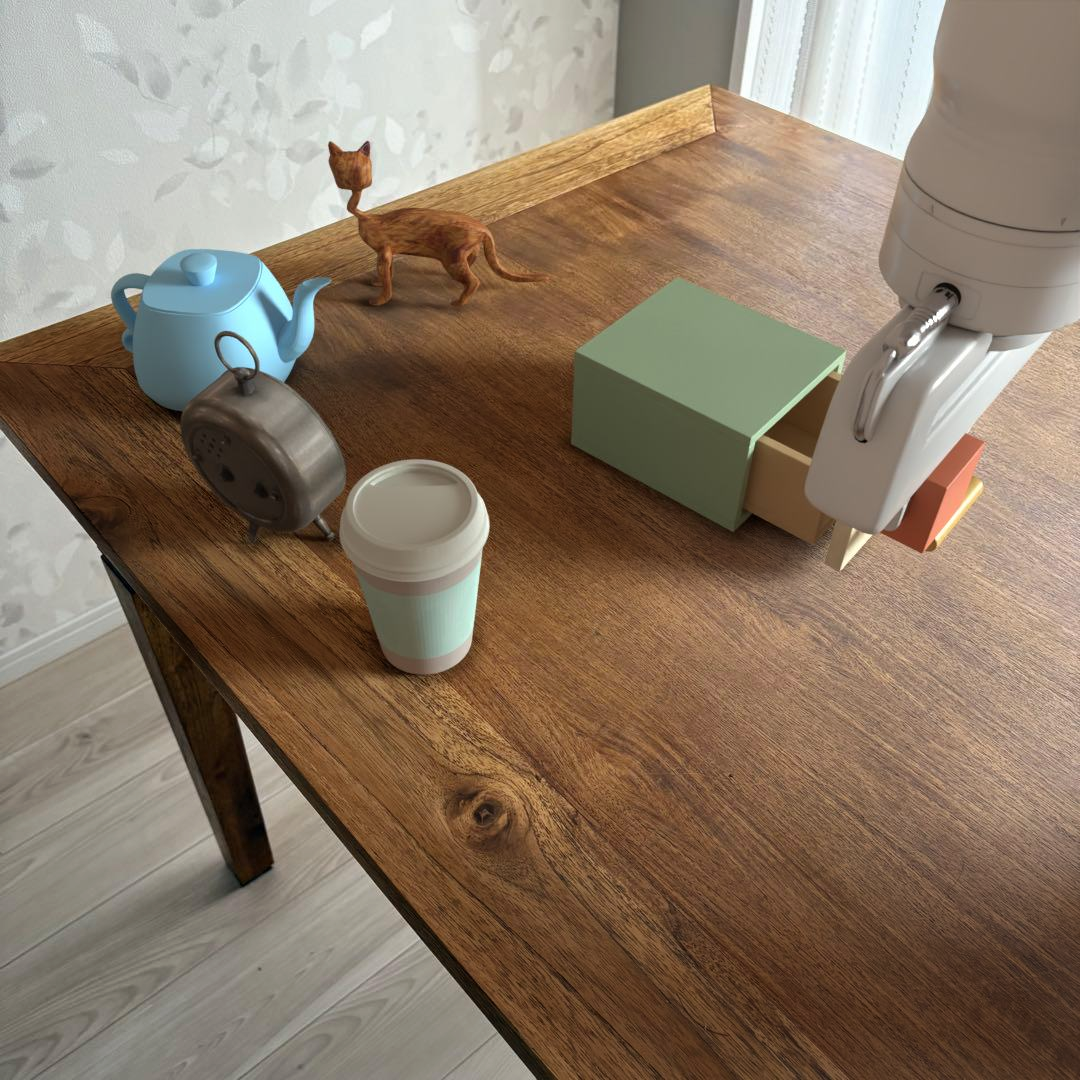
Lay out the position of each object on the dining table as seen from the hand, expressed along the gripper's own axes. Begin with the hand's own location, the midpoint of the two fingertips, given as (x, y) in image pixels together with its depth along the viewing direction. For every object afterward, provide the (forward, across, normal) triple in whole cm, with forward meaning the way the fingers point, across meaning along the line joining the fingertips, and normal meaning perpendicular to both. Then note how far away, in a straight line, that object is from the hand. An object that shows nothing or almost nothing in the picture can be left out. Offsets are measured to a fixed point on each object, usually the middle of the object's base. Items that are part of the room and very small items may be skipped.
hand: (911, 487), depth 56 cm
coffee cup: (+18, -13, +22) cm, 31 cm away
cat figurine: (+18, +17, +48) cm, 54 cm away
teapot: (+18, -3, +53) cm, 56 cm away
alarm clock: (+18, -12, +38) cm, 43 cm away
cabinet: (+17, +14, +20) cm, 30 cm away
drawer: (+16, +14, +9) cm, 23 cm away
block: (+2, 0, 0) cm, 2 cm away
